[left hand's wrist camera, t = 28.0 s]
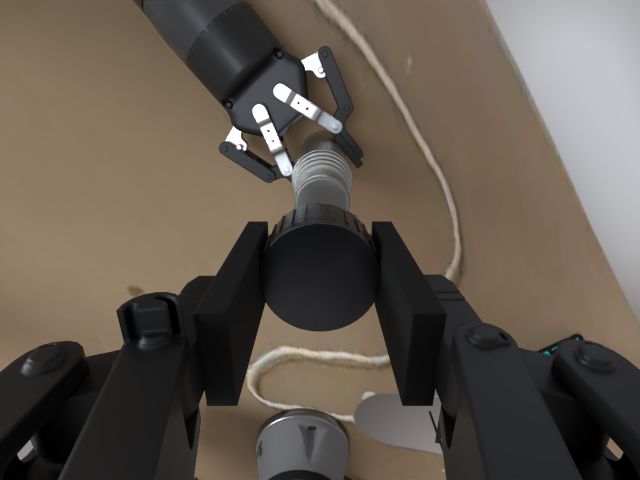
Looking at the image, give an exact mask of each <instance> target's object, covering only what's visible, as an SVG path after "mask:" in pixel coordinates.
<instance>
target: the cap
mask: <svg viewBox="0 0 640 480" xmlns="http://www.w3.org/2000/svg"><path fill="white" fill-rule="evenodd" d="M376 253H377V251H376V248H375V246H374V243H373V241H372V238H371V235H370V234H368V232H367V230H366V227H365V225H364V223H363V224H362V223H361V222H360V221H359V220H358V218H357V217H356V215H353V214H352V213H350V212H348V211H347V210H346V209H345V208H340V207H337V206H334V205H333V204H331V205H329V204H320V203H318V204H310V205H307V204H306V205H305V206H302V207H300V208H297V209H293V211H291V212H290V213H288V214H287V215H286V216H283V217H282V219H281V220H280V221H279V223H278V224H277V225H276V224H275V226H274V228H273V231H272V234H271V235H269V237H268V240H267V243H266V245H265V248H264V250H263V253H262V254H263V258H262V261H261V264H260V268H259V276H260V289H261V293H262V296H263V298H264V300H265V302H266V303H267V305H268V306H269V308H270V309H271V310H272V311H273V312H274V313H275V314H276V315H277V316H278V317H279V318H280V319H282V320H283V321H285V322H286V323H288V324H290V325H292V326H295V327H297V328H300V329H304V330H309V331H331V330H336V329H339V328H342V327H345V326H347V325H350V324H352V323H353V322H355V321H357V320H358V319H359V318H361V317H362V316H363V315H364V314H365V313H366V312H367V311H368V310H369V309H370V307H371V306H372V305H373V303H374V301H375V299H376V297H377V295H378V292H379V286H380V272H381V271H380V265H379V262H378V259H377V256H376Z"/></svg>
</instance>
